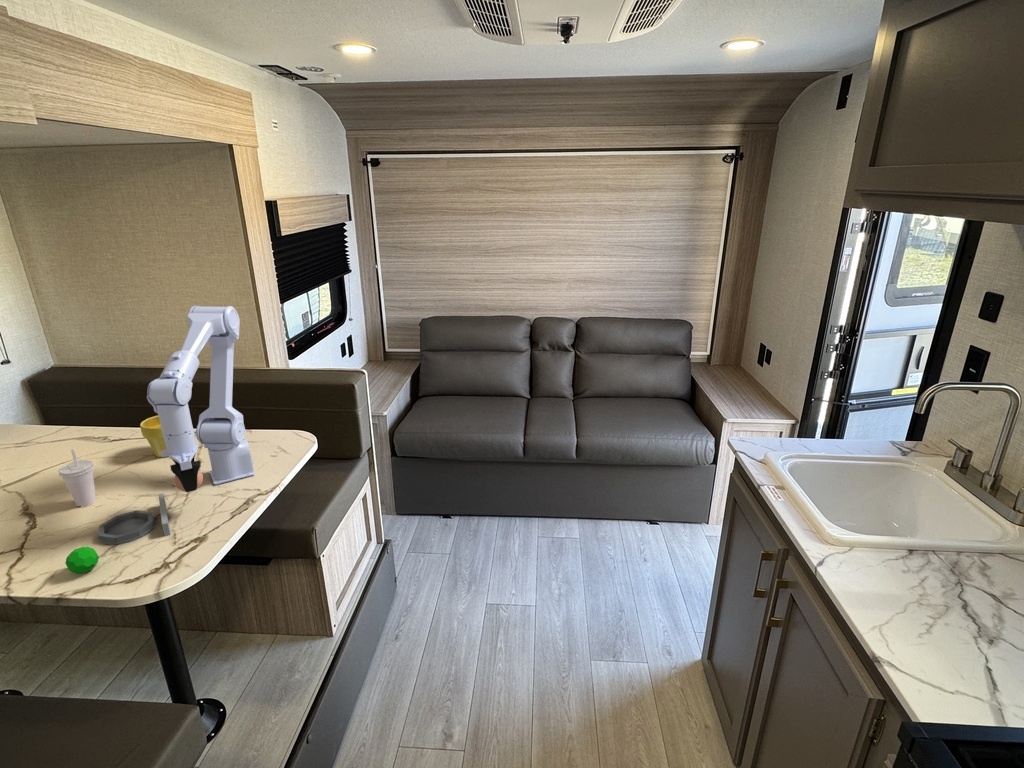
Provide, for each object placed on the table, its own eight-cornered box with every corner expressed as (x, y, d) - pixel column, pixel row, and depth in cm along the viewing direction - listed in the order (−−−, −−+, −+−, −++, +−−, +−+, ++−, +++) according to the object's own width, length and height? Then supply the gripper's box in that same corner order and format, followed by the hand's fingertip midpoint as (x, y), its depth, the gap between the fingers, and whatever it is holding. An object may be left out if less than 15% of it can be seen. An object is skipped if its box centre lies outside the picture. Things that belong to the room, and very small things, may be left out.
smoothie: (84, 511, 122) (68, 457, 117) (62, 508, 123) (44, 454, 118) (109, 497, 128) (95, 445, 123) (87, 493, 129) (72, 442, 124)
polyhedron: (93, 577, 102) (86, 556, 100) (64, 580, 101) (57, 559, 99) (106, 560, 107) (100, 540, 105) (78, 563, 106) (71, 543, 104)
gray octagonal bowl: (154, 510, 123) (153, 505, 122) (157, 533, 115) (155, 527, 114) (99, 525, 117) (97, 519, 117) (97, 550, 109) (95, 544, 109)
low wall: (166, 504, 125) (163, 493, 124) (170, 534, 115) (167, 522, 114) (161, 505, 125) (158, 494, 124) (164, 536, 114) (162, 524, 113)
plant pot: (184, 440, 157) (177, 410, 153) (195, 452, 150) (188, 420, 147) (143, 451, 150) (135, 420, 146) (153, 464, 143) (145, 431, 140)
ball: (203, 480, 125) (199, 459, 123) (206, 491, 120) (201, 470, 119) (175, 487, 122) (170, 466, 120) (177, 499, 117) (172, 477, 116)
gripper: (154, 422, 119) (167, 475, 124) (158, 447, 108) (171, 504, 113) (190, 416, 123) (201, 467, 128) (197, 439, 112) (209, 494, 117)
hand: (189, 484), depth 121 cm, fingers closed on ball, 5 cm apart
